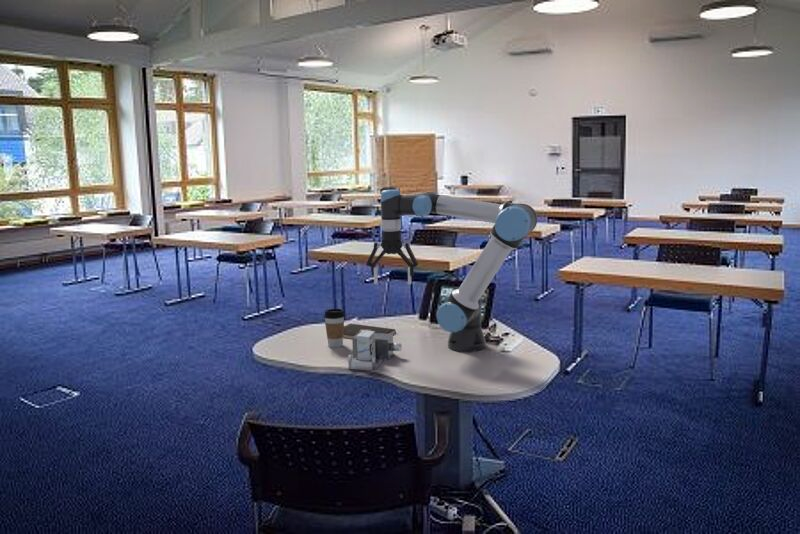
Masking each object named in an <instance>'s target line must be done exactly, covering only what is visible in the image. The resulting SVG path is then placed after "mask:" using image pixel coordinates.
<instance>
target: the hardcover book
mask: <svg viewBox="0 0 800 534" xmlns="http://www.w3.org/2000/svg"><path fill="white" fill-rule="evenodd" d="M361 329H363V330H371V331H375V333H383V334H393V335H394V334H396V333H397V332H396V329H395V328H389V327H381V326H374V325H373V326H372V325H365V324H357V323H349V324H346V325H344V331H343V338H345V339H351V340H352V338H353V337H354V336H355V335H356V334H357V333H358V332H359V331H360V330H361Z"/></svg>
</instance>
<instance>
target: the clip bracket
mask: <svg viewBox="0 0 800 534" xmlns="http://www.w3.org/2000/svg"><path fill="white" fill-rule="evenodd" d="M347 359H348V360H347V361H348V363H347V365H348V369H349V370H360V371H361V370H362V371H364V370H365V371H376V370H377V368H379V366H380V365H381V363H382V362H383V361H384V360H383V356H380V357H379V359H378V360H377V359H376V356H372V361H359V360H358V355H357V356H356V357H355V358H353V354H348V356H347Z"/></svg>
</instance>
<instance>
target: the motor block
mask: <svg viewBox="0 0 800 534" xmlns="http://www.w3.org/2000/svg"><path fill="white" fill-rule="evenodd" d="M362 331H371V330H363V329H361V330H360V331H359V332H358V333H357V334H356V335H355V336H354V337H353V338H352V339H351V340H352V343H351V344H352V359H354V358H355V357H356V356H357V355H358V354H357V335H358V334H359V333H361V332H362ZM402 347H403V346H402V343H399V342H394V334H383V333H375V354H376V361H377V360H378V359H379V357H380V356H383V361H389V360H390V359H391V357H392V356H393V355H394V352H401V351H402V349H403V348H402Z"/></svg>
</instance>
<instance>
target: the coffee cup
mask: <svg viewBox="0 0 800 534" xmlns="http://www.w3.org/2000/svg"><path fill="white" fill-rule="evenodd" d="M323 315H324V316H323V318H324V320H325V321H324V323H325V324H324V325H325V331H326V338H327V344H328V345H327V346H328V347H329V348H334V349H335V348H340V347H341V348H342V347H343V345H344V337H343V331H344V326H345V320H344V319H345V312H344V310H343V309H342V308H330V309H326V310H324V314H323Z"/></svg>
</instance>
